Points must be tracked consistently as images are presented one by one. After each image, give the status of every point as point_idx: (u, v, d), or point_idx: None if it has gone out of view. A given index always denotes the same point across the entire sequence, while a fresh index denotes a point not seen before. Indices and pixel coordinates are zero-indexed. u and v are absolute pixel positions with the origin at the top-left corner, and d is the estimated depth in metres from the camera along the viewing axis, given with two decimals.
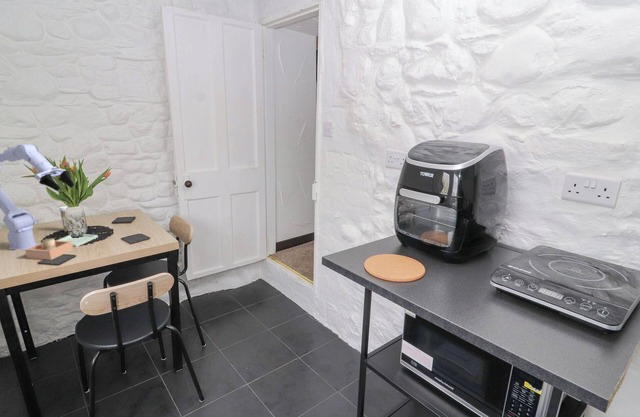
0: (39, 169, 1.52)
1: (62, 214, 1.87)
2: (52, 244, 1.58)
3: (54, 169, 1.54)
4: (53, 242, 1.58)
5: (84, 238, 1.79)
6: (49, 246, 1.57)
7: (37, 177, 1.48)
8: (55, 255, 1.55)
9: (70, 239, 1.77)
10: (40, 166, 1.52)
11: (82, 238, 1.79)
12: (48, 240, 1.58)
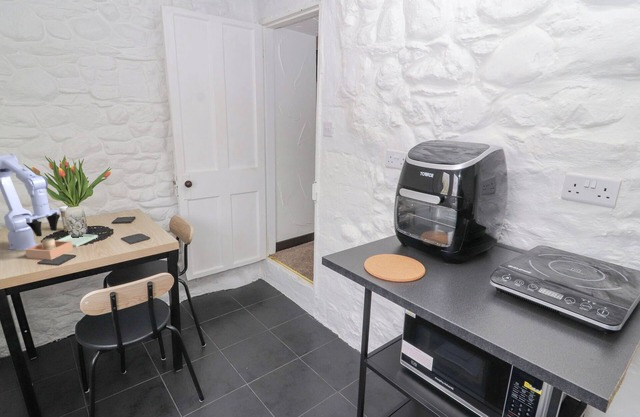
0: (35, 209, 1.51)
1: (62, 214, 1.87)
2: (52, 244, 1.58)
3: (48, 215, 1.54)
4: (53, 242, 1.58)
5: (84, 238, 1.79)
6: (49, 246, 1.57)
7: (28, 221, 1.48)
8: (55, 255, 1.55)
9: (70, 239, 1.77)
10: (38, 207, 1.51)
11: (82, 238, 1.79)
12: (48, 240, 1.58)
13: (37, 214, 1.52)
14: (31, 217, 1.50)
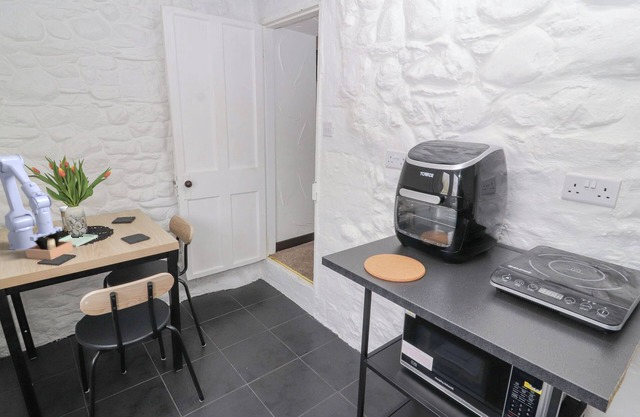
0: (39, 227, 1.54)
1: (62, 214, 1.87)
2: (52, 244, 1.58)
3: None
4: (53, 242, 1.58)
5: (84, 238, 1.79)
6: (49, 246, 1.57)
7: (32, 239, 1.50)
8: (55, 255, 1.55)
9: (70, 239, 1.77)
10: (42, 226, 1.54)
11: (82, 238, 1.79)
12: (48, 240, 1.58)
13: (41, 232, 1.54)
14: (35, 235, 1.52)
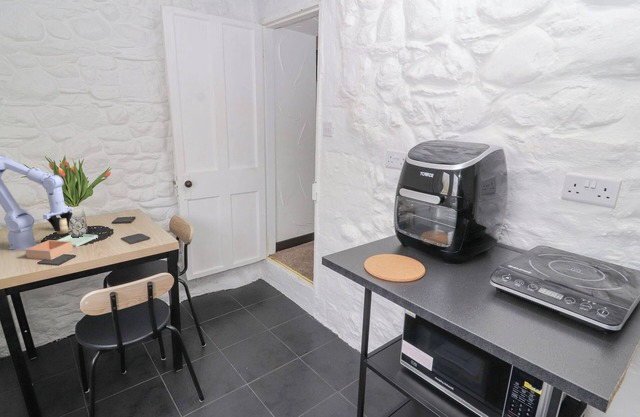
0: (51, 206, 1.61)
1: None
2: (64, 223, 1.65)
3: (64, 212, 1.64)
4: (65, 221, 1.65)
5: (84, 238, 1.79)
6: (61, 225, 1.64)
7: (45, 217, 1.58)
8: (55, 255, 1.55)
9: (70, 239, 1.77)
10: (54, 205, 1.61)
11: (82, 238, 1.79)
12: (60, 219, 1.65)
13: (53, 211, 1.61)
14: (48, 214, 1.59)
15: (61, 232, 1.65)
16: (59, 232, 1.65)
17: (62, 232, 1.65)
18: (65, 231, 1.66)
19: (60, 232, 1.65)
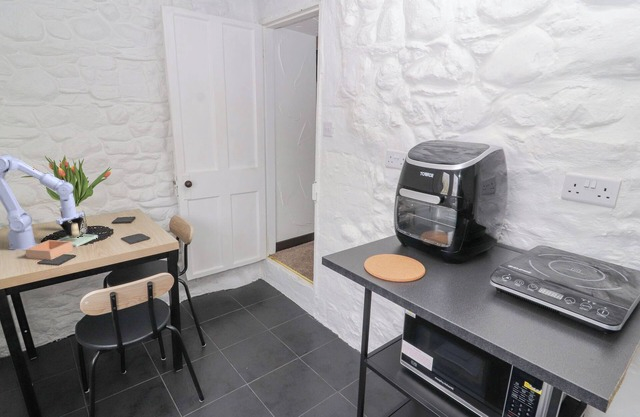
0: (64, 212, 1.69)
1: (62, 214, 1.87)
2: (76, 227, 1.73)
3: (75, 217, 1.72)
4: (76, 226, 1.73)
5: (84, 238, 1.79)
6: (73, 229, 1.72)
7: (58, 222, 1.65)
8: (55, 255, 1.55)
9: (70, 239, 1.77)
10: (66, 211, 1.68)
11: (82, 238, 1.79)
12: (72, 224, 1.73)
13: (66, 216, 1.69)
14: (61, 219, 1.67)
15: (73, 236, 1.73)
16: (71, 236, 1.72)
17: (74, 236, 1.73)
18: (77, 235, 1.74)
19: (72, 236, 1.73)
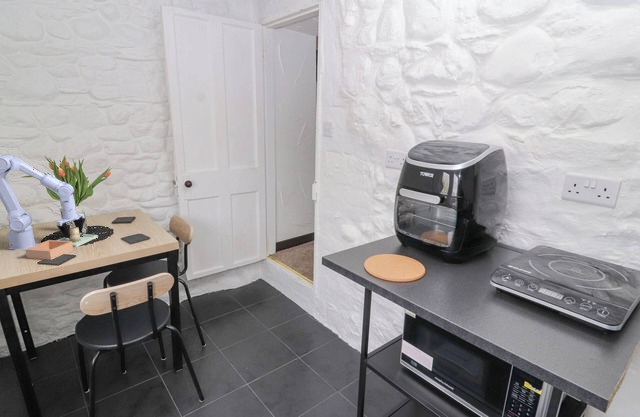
0: (64, 213, 1.69)
1: (62, 214, 1.87)
2: (76, 232, 1.73)
3: None
4: (77, 230, 1.74)
5: (84, 238, 1.79)
6: (74, 234, 1.73)
7: (58, 224, 1.66)
8: (55, 255, 1.55)
9: None
10: (67, 212, 1.69)
11: (82, 238, 1.79)
12: (73, 228, 1.73)
13: (66, 218, 1.69)
14: (61, 221, 1.67)
15: (73, 240, 1.73)
16: (72, 241, 1.73)
17: (74, 240, 1.73)
18: (77, 240, 1.74)
19: (73, 241, 1.73)
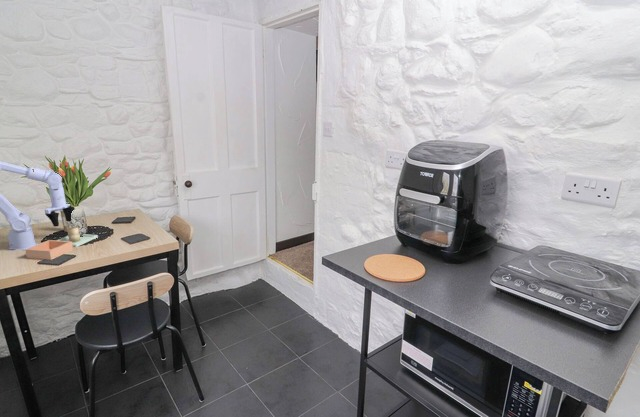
0: (53, 201, 1.68)
1: (62, 214, 1.87)
2: (76, 231, 1.73)
3: (64, 207, 1.71)
4: (77, 230, 1.74)
5: (84, 238, 1.79)
6: (74, 234, 1.73)
7: (46, 212, 1.65)
8: (55, 255, 1.55)
9: None
10: (55, 200, 1.68)
11: (82, 238, 1.79)
12: (72, 228, 1.73)
13: (55, 206, 1.68)
14: (49, 209, 1.66)
15: (73, 240, 1.73)
16: (72, 240, 1.73)
17: (74, 240, 1.73)
18: (77, 239, 1.74)
19: (73, 241, 1.73)
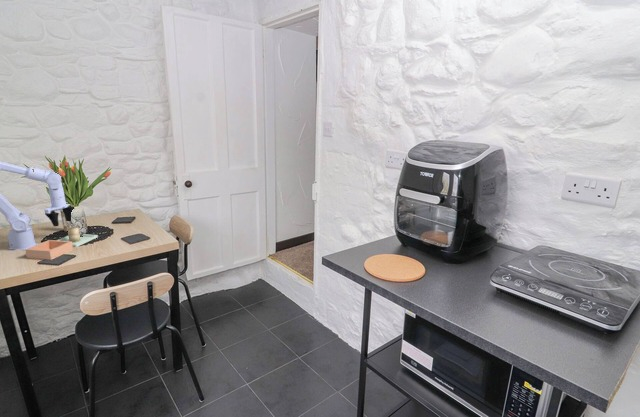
0: (52, 201, 1.68)
1: (62, 214, 1.87)
2: (77, 232, 1.73)
3: (64, 207, 1.71)
4: (77, 230, 1.74)
5: (84, 238, 1.79)
6: (74, 234, 1.73)
7: (46, 212, 1.65)
8: (55, 255, 1.55)
9: None
10: (55, 200, 1.68)
11: (82, 238, 1.79)
12: (73, 228, 1.73)
13: (54, 206, 1.68)
14: (49, 209, 1.66)
15: (74, 241, 1.73)
16: (72, 241, 1.73)
17: (75, 241, 1.73)
18: (77, 239, 1.74)
19: (73, 241, 1.73)
